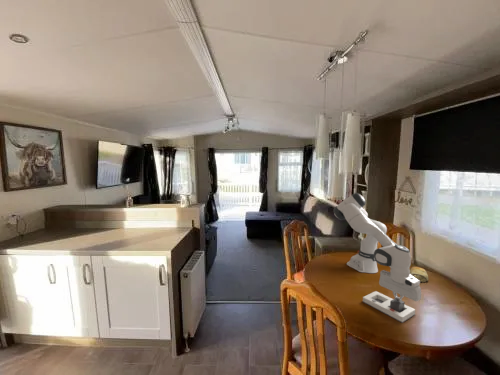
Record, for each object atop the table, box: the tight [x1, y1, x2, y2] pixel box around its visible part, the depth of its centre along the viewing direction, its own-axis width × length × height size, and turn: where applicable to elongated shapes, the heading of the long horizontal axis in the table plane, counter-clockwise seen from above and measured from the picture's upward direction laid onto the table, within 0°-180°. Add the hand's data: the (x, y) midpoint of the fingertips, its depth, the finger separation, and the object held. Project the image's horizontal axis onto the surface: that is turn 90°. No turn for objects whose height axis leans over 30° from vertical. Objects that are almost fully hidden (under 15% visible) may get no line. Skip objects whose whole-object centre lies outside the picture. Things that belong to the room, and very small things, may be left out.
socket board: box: [362, 290, 416, 324], centre depth 136 cm, size 22×13×4 cm, turn 31°
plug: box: [390, 298, 406, 313], centre depth 131 cm, size 4×6×6 cm
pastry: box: [409, 266, 429, 283], centre depth 171 cm, size 14×12×8 cm
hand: (398, 300), depth 131 cm, fingers closed
